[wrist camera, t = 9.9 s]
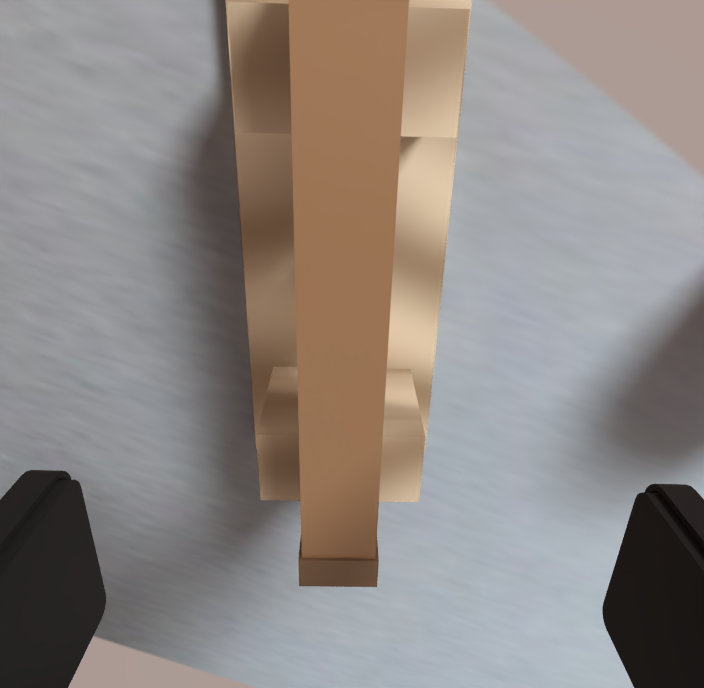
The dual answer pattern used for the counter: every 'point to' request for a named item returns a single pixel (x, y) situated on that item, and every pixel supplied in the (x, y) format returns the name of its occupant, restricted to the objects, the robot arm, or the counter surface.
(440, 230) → the display stand
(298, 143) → the frame bar
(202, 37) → the counter surface
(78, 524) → the robot arm
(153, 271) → the counter surface
